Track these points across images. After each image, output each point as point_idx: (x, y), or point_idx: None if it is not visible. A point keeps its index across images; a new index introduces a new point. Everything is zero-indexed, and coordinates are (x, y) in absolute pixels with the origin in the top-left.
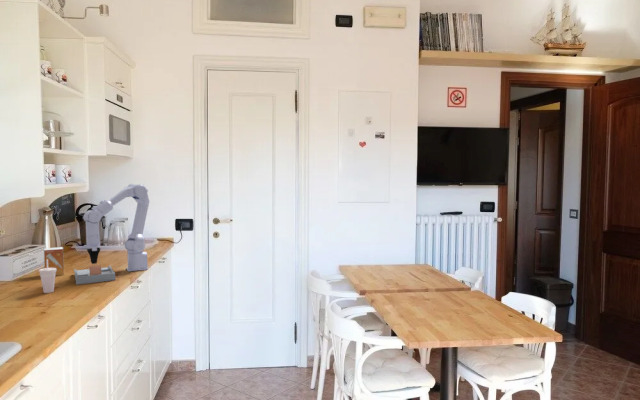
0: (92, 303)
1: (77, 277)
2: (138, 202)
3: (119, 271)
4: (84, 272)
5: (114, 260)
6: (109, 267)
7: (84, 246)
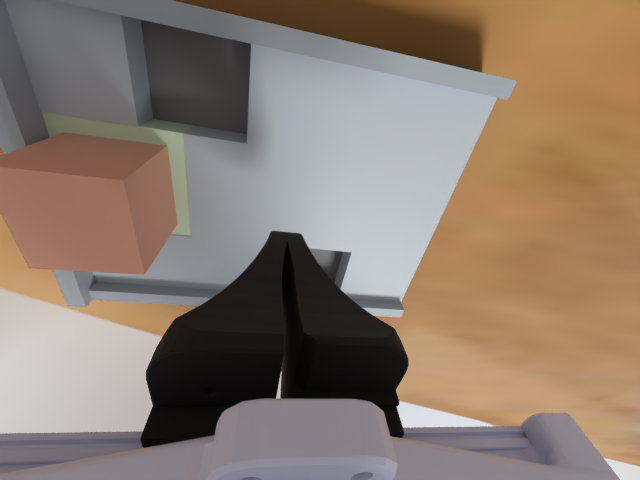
0: None
1: None
2: None
3: None
4: (349, 140)
5: (606, 339)
6: None
7: (220, 426)
